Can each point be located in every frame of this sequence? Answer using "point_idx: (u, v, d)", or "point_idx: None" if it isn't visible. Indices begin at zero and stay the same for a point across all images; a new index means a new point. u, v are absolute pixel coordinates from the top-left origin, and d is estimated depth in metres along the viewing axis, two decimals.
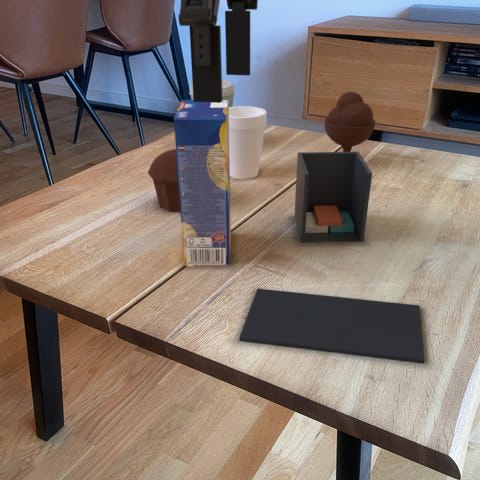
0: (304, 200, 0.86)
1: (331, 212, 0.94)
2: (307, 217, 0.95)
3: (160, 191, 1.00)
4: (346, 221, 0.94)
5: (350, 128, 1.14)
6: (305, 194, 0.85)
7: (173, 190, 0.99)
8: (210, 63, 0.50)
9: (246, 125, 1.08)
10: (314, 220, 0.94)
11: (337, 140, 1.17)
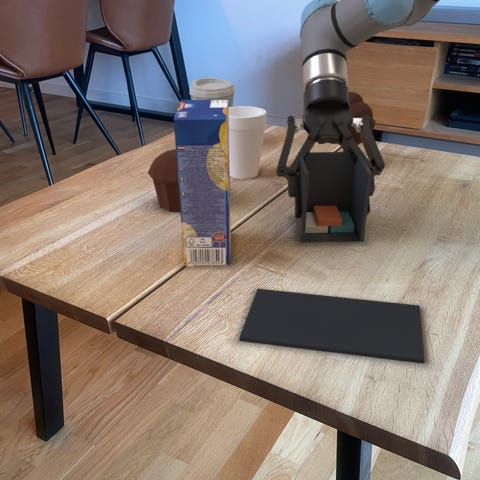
0: (304, 200, 0.86)
1: (331, 212, 0.94)
2: (307, 217, 0.95)
3: (160, 191, 1.00)
4: (346, 221, 0.94)
5: (350, 128, 1.14)
6: (305, 194, 0.85)
7: (173, 190, 0.99)
8: (290, 192, 0.89)
9: (246, 125, 1.08)
10: (314, 220, 0.94)
11: None
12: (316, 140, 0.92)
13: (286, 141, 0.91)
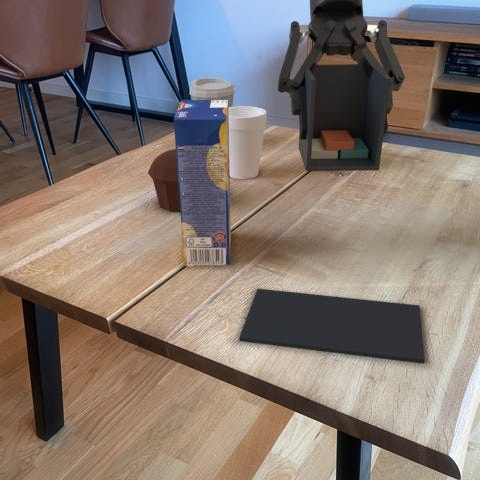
0: (310, 113, 0.73)
1: (341, 136, 0.81)
2: (313, 143, 0.82)
3: (160, 191, 1.00)
4: (359, 146, 0.81)
5: None
6: (311, 105, 0.72)
7: (173, 190, 0.99)
8: (293, 108, 0.77)
9: (246, 125, 1.08)
10: (321, 145, 0.81)
11: None
12: (324, 50, 0.79)
13: (289, 49, 0.78)
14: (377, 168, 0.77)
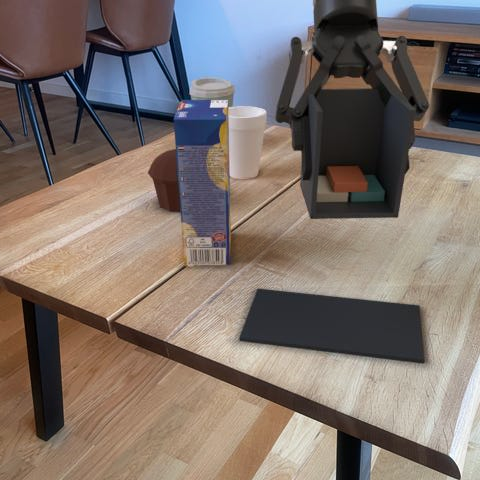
0: (316, 151, 0.60)
1: (351, 174, 0.68)
2: (318, 181, 0.69)
3: (160, 191, 1.00)
4: (373, 186, 0.67)
5: None
6: (317, 142, 0.59)
7: (173, 190, 0.99)
8: (294, 142, 0.63)
9: (246, 125, 1.08)
10: (328, 185, 0.68)
11: None
12: (331, 72, 0.66)
13: (289, 72, 0.64)
14: (396, 215, 0.64)
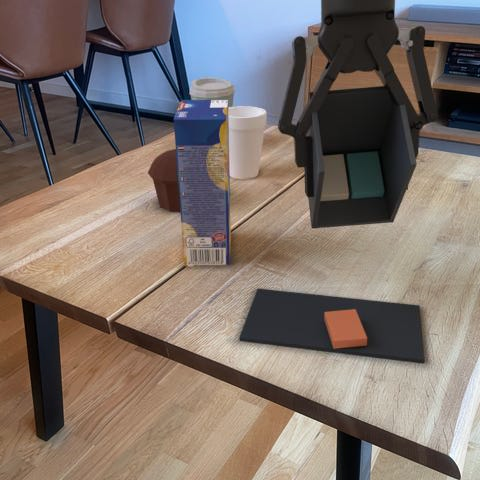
0: (317, 194, 0.62)
1: None
2: None
3: (160, 191, 1.00)
4: (374, 179, 0.69)
5: None
6: (319, 189, 0.61)
7: (173, 190, 0.99)
8: (297, 165, 0.64)
9: (246, 125, 1.08)
10: (330, 178, 0.70)
11: None
12: None
13: (292, 84, 0.60)
14: (391, 221, 0.69)
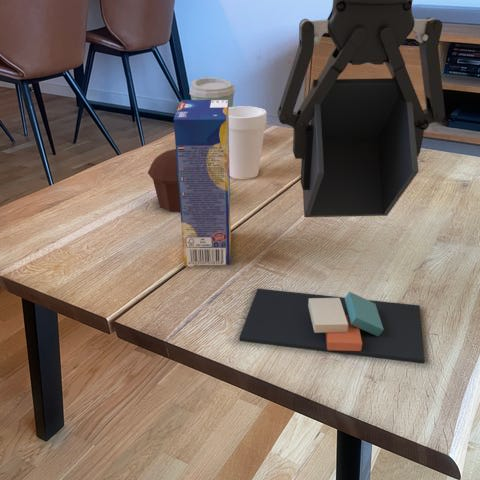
0: (314, 190, 0.60)
1: None
2: None
3: (160, 191, 1.00)
4: None
5: None
6: (316, 186, 0.59)
7: (173, 190, 0.99)
8: (295, 156, 0.61)
9: (246, 125, 1.08)
10: None
11: None
12: None
13: (296, 73, 0.56)
14: (385, 215, 0.68)
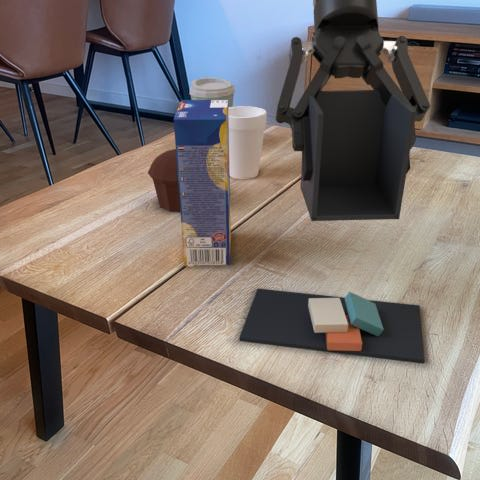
0: (316, 153, 0.59)
1: None
2: None
3: (160, 191, 1.00)
4: None
5: None
6: (318, 144, 0.59)
7: (173, 190, 0.99)
8: (295, 143, 0.63)
9: (246, 125, 1.08)
10: None
11: None
12: (332, 72, 0.66)
13: (290, 72, 0.64)
14: (397, 217, 0.64)
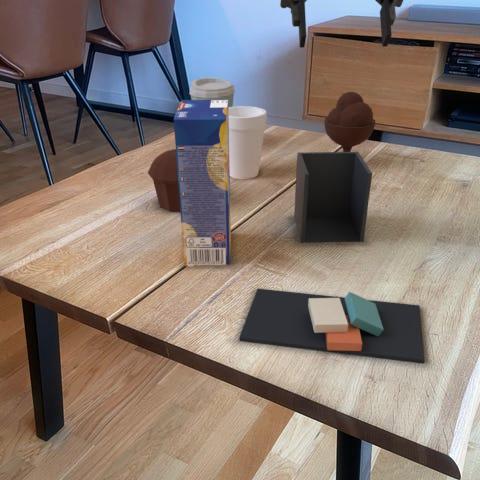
0: (304, 200, 0.86)
1: None
2: None
3: (160, 191, 1.00)
4: None
5: (350, 128, 1.14)
6: (305, 194, 0.85)
7: (173, 190, 0.99)
8: (294, 19, 0.89)
9: (246, 125, 1.08)
10: None
11: (337, 140, 1.17)
12: None
13: None
14: None
